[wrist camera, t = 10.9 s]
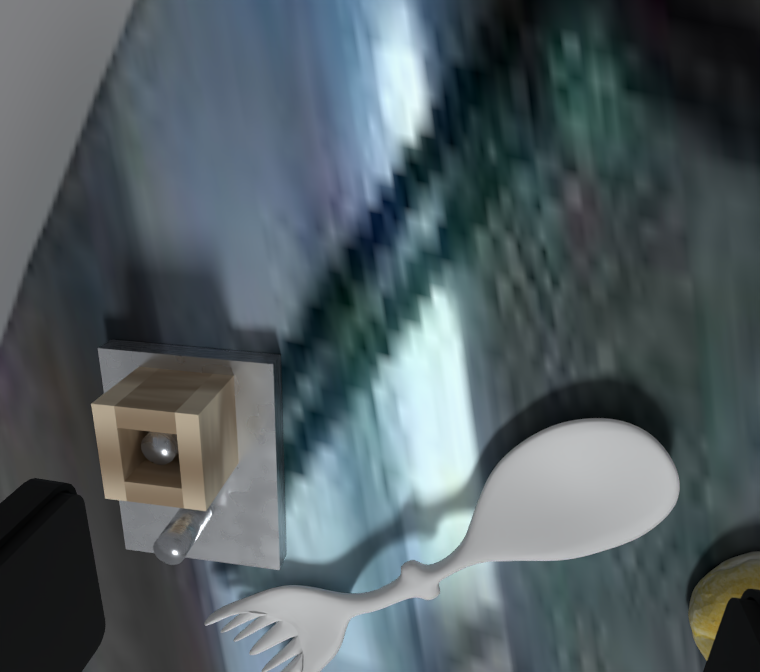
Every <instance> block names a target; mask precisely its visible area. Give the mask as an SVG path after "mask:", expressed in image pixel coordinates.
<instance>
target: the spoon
mask: <svg viewBox="0 0 760 672" xmlns="http://www.w3.org/2000/svg"><path fill="white" fill-rule="evenodd" d="M679 490H680V482H679V476H678V472H677V469H676V467H675V464H674V462H673V460H672V459H671V457H670V455H669V454H668V452H667V451H666V450H665V448H664V447H663V446H662V445H661V443H660V442H659V441H658V440H657V439H656V438H654V437H653V436H652V435H651V434H650V433H648V432H647V431H645V430H643V429H641V428H640V427H638V426H635V425H633V424H630V423H627V422H624V421H620V420H615V419H607V418H587V419H578V420H572V421H567V422H563V423H559V424H556V425H553V426H551V427H548V428H546V429H543V430H542V431H540V432H538V433H536V434H534V435H532V436H531V437H529V438H527V439H526V440H524V441H523V442H521V443H520V444H518V445H517V446H516V447H514V448H513V449H512V450H511V451H510V452H508V453H507V454H506V455H505V456H504V457H503V458H502V459H501V460H500V462H499V463H498V464H497V465H496V467H495V468H494V469H493V471H492V472H491V474H490V476H489V477H488V479H487V481H486V483H485V485H484V487H483V490H482V492H481V494H480V497H479V499H478V502H477V505H476V507H475V510H474V513H473V516H472V519H471V522H470V525H469V528H468V531H467V533H466V535H465V537H464V539H463V541H462V542H461V543H460V545H459V546H458V547H457V548H456V549H455V550H454V551H453V552H452V553H451V554H450V555H449V556H447V557H446V558H444V559H443V560H441V561H439V562H437V563H434V564H430V565H426V564H422V563H420V562H418V561H415V560H410V561H407V562H406V563H404V564H403V565H402V566H401V575H400V576H399V577H398V578H397V579H396V580H394V581H392V582H391V583H389V584H387V585H385V586H383V587H381V588H379V589H377V590H373V591H370V592H365V593H342V592H335V591H330V590H325V589H321V588H316V587H310V586H302V585H285V586H279V587H275V588H271V589H268V590H265V591H262V592H259V593H257V594H254V595H251V596H249V597H246V598H243V599H241V600H238V601H235V602H233V603H230V604H228V605H226V606H223V607H222V608H220V609H218V610H216V611H215V612H214V613H212V614H211V615H210V616H209V617H208V618H207V620H206V621H205V623H204V624H205V625H210V624H212V623H215V622H217V621H219V620H222V619H224V618H226V617H229V616H231V615H235V614H239V615H237V616H236V617H235V618H234V619H233V620H232V621H230V622H229V623H228V624H227V625H226V626H225V627H224V628H223V629H222V630H221V633H223V632H226V631H229V630H231V629H233V628H235V627H237V626H239V625H241V624H243V623H245V622H247V621H249V620H251V619H254V618H256V617H258V618H257V619H256V620H254V621H253V622H252V623H251V624H249V625H248V626H247V627H246V628H245V629H244V630H242V631H241V632H240V633H239V634H238V635H237V636H236V637H235V639H234V642H235V641H238V640H241V639H243V638H245V637H247V636H248V635H250V634H252V633H254V632H256V631H258V630H259V629H261V628H263V627H265V626H267V625H270V624H272V623H274V622H277V621H278V622H277V623H276V624H275V625H274V626H273V627H272V628H271V629H270V630H269V631H267V632H266V633H265V634H264V635H263V636H262V637H261V638H260V639H259V640H258V641H257V643H256V644H255V645H254V646H253V647H252V649H251V650H250V655H256V654H258V653H261V652H263V651H265V650H267V649H269V648H271V647H273V646H275V645H277V644H279V643H281V642H283V641H285V640H287V639H289V638H291V637H294V638H293V639H292V640H291V641H290V642H289V643H288V644H287V645H286V646H285V647H284V648H283V649H282V650H281V651H280V652H279V653H278V654H277V655H276V656H274V657H273V658H272V659H271V660H270V661H269V662H268V663H267V664H266V665H265V667H264V668H263V669H262V672H266V671H269V670H270V669H272V668H274V667H276V666H278V665H279V664H281V663H283V662H284V661H286V660H288V659H289V658H291V657H293V656H295V655H297V656H296V657H295V658H294V659H293V660H292V661H291V662H290V663H289V664H288V665H287V666H286V667H285V668H284V669H283V670H282V671H281V672H320V671H321V670H322V669H323V668H324V667H325V666H326V665H327V664H328V663H329V662H330V661H331V660H332V659H333V658H334V657H335V655H336V654H337V652H338V651H339V649H340V647H341V645H342V642H343V639H344V635H345V632H346V628H347V625H348V623H349V621H350V619H351V618H352V617H354V616H357V615H360V614H364V613H369V612H373V611H377V610H379V609H382V608H385V607H388V606H390V605H392V604H395V603H397V602H400V601H403V600H406V599H409V598H422V599H425V600H432V599H434V598H436V597H437V596H438V595H439V594H440V588H439V582H440V581H441V580H443V579H444V578H446V577H448V576H450V575H451V574H453V573H455V572H457V571H459V570H461V569H464V568H466V567H468V566H471V565H474V564H478V563H483V562H492V561H556V560H567V559H574V558H578V557H583V556H587V555H591V554H594V553H598V552H601V551H604V550H608V549H611V548H614V547H617V546H620V545H622V544H625V543H628V542H630V541H632V540H634V539H637V538H639V537H640V536H642V535H644V534H645V533H647V532H649V531H650V530H651V529H653V528H654V527H655V526H657V525H658V524H659V523H660V522H661V521H662V520H664V519H665V518H666V517H667V515H668V514H669V513H670V512H671V511H672V509H673V508H674V506H675V504H676V502H677V499H678V496H679Z"/></svg>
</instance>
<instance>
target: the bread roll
mask: <svg viewBox="0 0 760 672" xmlns="http://www.w3.org/2000/svg"><path fill="white" fill-rule="evenodd" d="M747 589H758V590H760V551H755V552H749V553H746V554H742V555H739V556H736V557H733V558H730V559H728V560H726V561H724V562H722V563H721V564H720V565H718V566H717V567H716V568H714V569H713V570H711V571H710V572H709V573H708V574H707V575H706V576H704V577H703V578H702V579H701V580H700V581H699V582H698V584H697V585H696V586H695V588H694V590H693V592H692V596H691V600H690V604H689V612H688V616H689V622H690V625H691V629H692V633H693V638H694V640H695V643H696V645H697V647H698V648H699V650H700V651H701V653H702V654H703V656H704V657H705V659H706V660H708V657H709V654H710V651H711V648H712V645H713V642H714V640H715V637H716V634H717V631H718V628H719V625H720V622H721V619H722V617H723V614H724V611H725V608H726V605H727V603H728V601H729V600H730V599H731V598H741V596H742V594H743V593H744V591H746V590H747Z"/></svg>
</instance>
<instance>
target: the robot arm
mask: <svg viewBox="0 0 760 672" xmlns="http://www.w3.org/2000/svg"><path fill="white" fill-rule="evenodd" d="M104 632H105V617H104V611H103V606H102V600H101V594H100V589H99V583H98V577H97V571H96V566H95V560H94V554H93V549H92V543H91V537H90V532H89V526H88V520H87V514H86V509H85V503H84V500H83V498H82V497H81V496H80V495H77V493H76V490H75V488H74V487H73V486H72V485H71V484H68V483H63V482H57V481H50V480H44V479H37V478H34V479H30V480H28V481H27V482H25V483H23V484H22V485H21V486H20V487H19V488H18V489H16V490H15V491H14V492H13V493H12V494H11V495H10V496H8V497H7V498H6V499H5V500H4V501H3V502H1V503H0V672H82V670H83V669H84V668H85V666H86V665H87V663H88V662H89V660H90V659H91V657H92V656H93V655H94V653H95V652H96V650H97V649H98V647H99V645H100V643H101V641H102V639H103V635H104ZM703 672H760V590H758V589H747V590H746V591H744V593H743V594H742V596H741V598H731V599H730V600H729V601H728V603H727V605H726V608H725V611H724V614H723V617H722V619H721V622H720V625H719V628H718V631H717V634H716V637H715V640H714V642H713V645H712V648H711V651H710V654H709V657H708V660H707V662H706V665H705V668H704V671H703Z"/></svg>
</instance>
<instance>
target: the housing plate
mask: <svg viewBox="0 0 760 672" xmlns="http://www.w3.org/2000/svg"><path fill="white" fill-rule="evenodd" d="M98 353H99V360H100V367H101V374H102V382H103V389H104V393H106V392H107V391H108V390H110V389H111V388H112V387H113V386H115V385H116V384H117V383H119V382H120V381H121V380H122V379H124V378H125V377H126V376H128V375H129V374H130V373H131V372H133V371H134V370H135V369H137V368H138V367H148V368H158V369H169V370H179V371H190V372H200V373H210V374H221V375H231V376H234V388H235V406H236V423H237V441H238V458H239V463H238V465H237V466H236V468H235V469H234V471H233V472H232V474H231V475H230V477H229V478H228V480H227V481H226V483H225V484H224V485H223V487H222V488H221V490H220V491H219V493H218V494H217V496H216V497H215V499H214V500H213V502H212V503H211V505H210V506H209V508H208V509H207V511H200V510H192V509H184V508H177V507H169V506H161V505H153V504H145V503H137V502H129V501H121V500H119V503H120V510H121V517H122V524H123V531H124V538H125V546H126V549H129V550H136V551H143V552H151V553H155V555H156V556H157V557H158V558H159V559H160V560H161V561H162V562H164V563H167V564H171V565H175V564H179V563H181V562H182V561H183V560H184V558H185V557H187V558H194V559H202V560H209V561H216V562H224V563H231V564H238V565H246V566H253V567H260V568H267V569H275V570H280V569H281V566H282V564H283V562H284V559H285V557H286V524H285V488H284V451H283V415H282V379H281V355H279V354H268V353H257V352H246V351H235V350H224V349H212V348H201V347H190V346H179V345H168V344H157V343H146V342H135V341H124V340H113V339H111V340H110V341H108V342H107V343H105V344H103V345H102V346H100V347H99V348H98ZM141 450H142V452H143V454H144V456H145V457H146V458H147V459H148V460H149V461H151V462H152V463H155V464H158V465H165V464H168V463H170V462H171V461H172V460H173V459H174V458H175V457H176V455H177V454H178V453H179V452H178V441H177V434H169V433H160V432H151V431H150V432H149V433H148V434H147V435H146V436H145V437H144V438H143V440H142V442H141Z"/></svg>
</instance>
